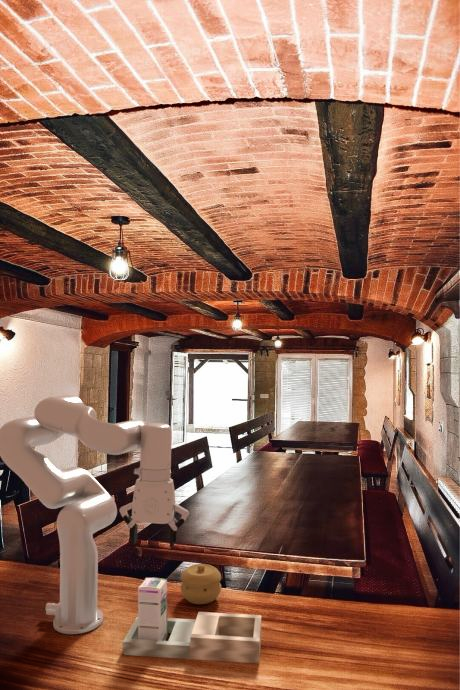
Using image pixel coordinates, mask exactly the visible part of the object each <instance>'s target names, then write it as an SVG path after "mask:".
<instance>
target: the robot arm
mask: <svg viewBox="0 0 460 690" xmlns="http://www.w3.org/2000/svg"><path fill="white" fill-rule="evenodd" d="M33 411H34V416H28V417H21V418H17V419H12V420H10V421H7V422H5V423H4V424H3V425H2V426H0V459H1V460H2V461H3V463H4V464H5V465H6V466H7V467H8V468H9V469H10V470H11V471H12V472H13V473H15V475H17V476H18V477H19V479H21V481H22V482H24V484H25V485H26V487H27V488H28V489H29V490H30V491H31V493H33V495H34V496H35V497H36V498H37V499H38V500H39V502H41V504H42V505H43V506H45V508H48V509H51V510H52V509H55V510H56V509H58V508H62V507H63V508H62V509H61V510H60V511H59V513H58V515H57V518H56V528H57V529H56V530H57V534H58V535H57V536H58V540H59V554H60V555H59V564H60V567H59V602H58V603H54V602H53V603H51V602H47V603H46V604H45V611H46V612H45V614H46V615H47V616H54V618H53V623H52V626H53V629H54V630H55V631H57V632H58V633H61V634H64V635H79V634H86V633H88V632H90V631H93V630H95V629H96V628H98V627H99V626H100V625H102V623H103V620H104V613H103V611H102V610H100V609H99V608H98V580H99V579H98V578H99V577H98V574H99V572H98V571H99V570H98V569H99V568H98V567H99V564H98V563H99V562H98V561H99V556H98V555H99V554H98V553H99V552H98V547H97V544H96V543H95V540H94V536H93V535H94V534H95V533H97V532H98V531H101V530H102V529H104V528H107V527H108V526H110V525H111V524H112V523H113V522H114V521H115V520H116V517H117V515H118V508H117V503H116V501H115V500H114V498H113V496H111V494H110V493H109V492H108V491H107V490H106V488H104V487H103V485H102V484H101V483H99V481H98V480H97V479H96V478H95V477H94V476H93V475H92V474H91V473H90V472H89V471H88V470H86V469H84V468H82V467H77V466H71V467H68V468H63V469H60V468H57V466H55V464H54V463H52V461H51V460H50V459H49V458H48V457H47V456H46V455H44V454H42V453H41V452H39V451H38V450H35V449H33V448H34V447H38V446H39V447H40V446H43V445H44V446H45V445H48V444H51V443H52V442H55V441H57V439H59V438H61V437H62V436H64V435H68V436H69V435H70V436H72V437H75V438H77V439H78V440H79V441H80V443H82V444H83V445H84V446H85V447H86V448H89V449H91V450H94V451H97V452H99V453H103V454H105V455H106V454H107V455H113V456H119V455H122V454H125V453H129V452H133V451H137V450H140V454H139V455H140V459H139V461H140V462H139V467H137V468H134V470H133V474H134V475H138V478H137V479H136V480H135V484H134V489H133V490H134V491H133V498H132V502H129V503H127V504H126V505H123V506H120V508H119V513H120V515H121V517H122V519H123V522H124V523H125V524H126V525H127V526H128V529H129V539H128V540H130V545H135V544H136V542H137V541H138V524H137V523H143V524H144V523H145V524H158V525H159V524H160V525H166V524H168V526H170V528H171V530H170V533H169V547H170V548H173V547H174V546H175V544H176V543H177V542H178V535H179V534H178V533H179V532H178V531H179V530H178V529H180V527H181V526H182V525H183V524H184V523H185V521H186V520H187V518H188V516H189V515H190V511H189V510H188V509H186V508H184V507H182V506H181V505H180V504H178V503H176V493H175V491H176V490H175V485H174V479H172V478H171V477H172V476H171V475H172V474H171V473H172V472H171V467H172V439H173V438H172V437H173V436H172V434H173V432H172V427H171V425H169V424H167V423H159V422H153V423H152V422H147V421H145V420H141V419H133V420H126V421H121V422H117V423H111V422H107V421H102V420H99V419H98V416H97V412H96V410H95V409H94V408H93V406H89V405H85V404H84V402H83V401H82V400H81V398H79V397H77V396H74V395H72V394H71V395H59V396H50V397H46V398H44V399H42V400H40V401H39V402H38V403H37V404H36V406H35V408H34V410H33ZM130 510H131V516H130V514H129V512H128V511H130ZM176 513H179V514H181V517H180V518H179V519H178V520H177V519H176V517H175V516H176Z"/></svg>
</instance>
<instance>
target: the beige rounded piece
mask: <svg viewBox="0 0 460 690" xmlns="http://www.w3.org/2000/svg"><path fill="white" fill-rule="evenodd" d="M221 580H222V574H221V572H220V571H219V570H218V568H217V567H215V566H213V565H211V564H207V563H197V564H192V565H190V566H188V567H187V568H185V569H184V570H183V571H182V573H181V575H180V581H181V585H180V592H181V594H182V596H183V598H184V599H185V600H186V601H188V602H189V603H191V604H192V605H206V604H207V605H208V604H210V603H212V602H213V601H215V600H217V598H218V596H219V595H220V593H221V591H222V584H221V583H220V582H221Z"/></svg>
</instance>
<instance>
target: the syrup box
mask: <svg viewBox="0 0 460 690" xmlns="http://www.w3.org/2000/svg"><path fill="white" fill-rule="evenodd" d="M137 616H138V638H137V639H144V640H160V641H167V640H166V639H167V638H168V633H167V618H168V580H167V578H162V577H161V578H160V577H145V578H144V580H143V581H142V582H141V584H140V585H139V586H138V588H137Z"/></svg>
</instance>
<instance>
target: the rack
mask: <svg viewBox="0 0 460 690" xmlns="http://www.w3.org/2000/svg"><path fill="white" fill-rule="evenodd" d="M167 634H170V636H169V638H168V640H165V641H160V640H144V639H138V615H137V616H136V618H135V619H134V621H133V623H132V625H131V627H130V628H129V630H128V632H127V634H126V636H125V637H124V639H123V641H122V655H123V654H124V656H135V657H137V656H138V657H139V656H140V657H150V658H151V657H152V658H153V657H155V658H165V659H166V658H169V659H182V660H183V659H185V660H198V661H199V660H200V661H212V662H213V661H215V662H230V663H246V664H256V665H257V664H260V661H261V660H260V656H261V645H262V615H261V614H248V613H247V614H245V613H244V614H243V613H242V614H241V613H229V612H228V613H226V612H209V611H198V613H197V616H196V618H194V619H193V618H192V619H191V618H175V617H174V618H173V617H167Z"/></svg>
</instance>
